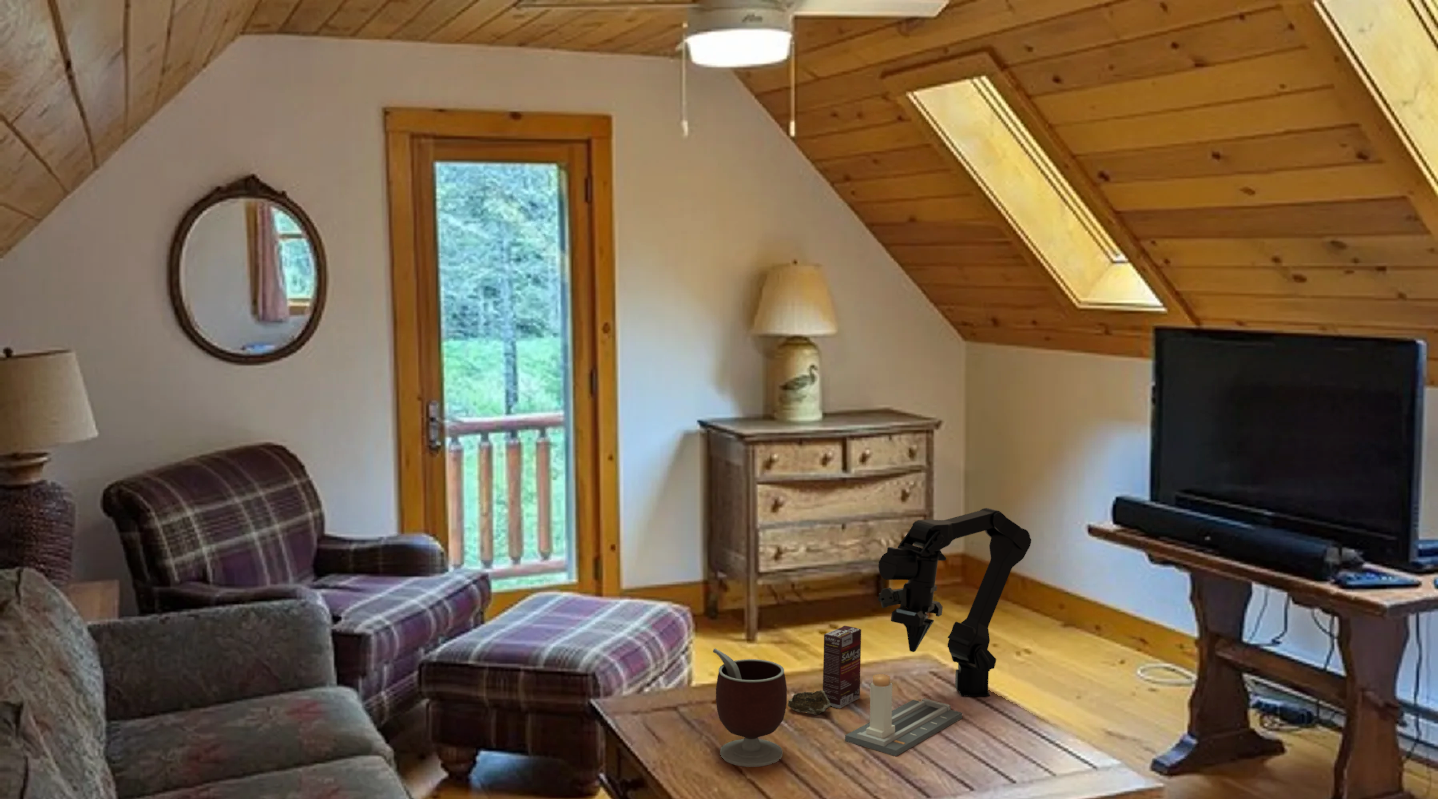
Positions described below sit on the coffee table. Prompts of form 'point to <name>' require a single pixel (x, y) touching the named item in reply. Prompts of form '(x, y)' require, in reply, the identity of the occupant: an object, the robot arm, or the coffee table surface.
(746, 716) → the mate gourd
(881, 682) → the fader knob
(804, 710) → the rock sample
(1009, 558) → the robot arm
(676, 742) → the coffee table surface
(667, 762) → the coffee table surface
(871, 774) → the coffee table surface
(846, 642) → the supplement box
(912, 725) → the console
